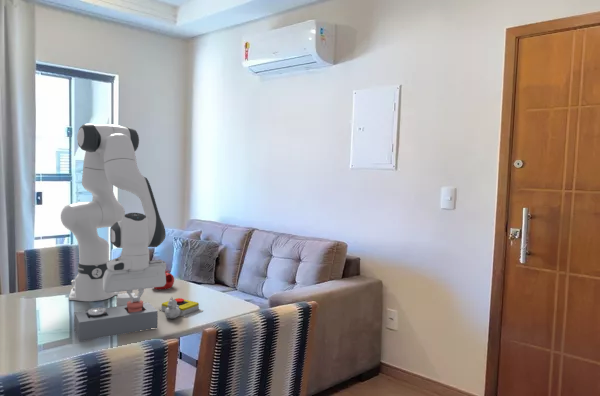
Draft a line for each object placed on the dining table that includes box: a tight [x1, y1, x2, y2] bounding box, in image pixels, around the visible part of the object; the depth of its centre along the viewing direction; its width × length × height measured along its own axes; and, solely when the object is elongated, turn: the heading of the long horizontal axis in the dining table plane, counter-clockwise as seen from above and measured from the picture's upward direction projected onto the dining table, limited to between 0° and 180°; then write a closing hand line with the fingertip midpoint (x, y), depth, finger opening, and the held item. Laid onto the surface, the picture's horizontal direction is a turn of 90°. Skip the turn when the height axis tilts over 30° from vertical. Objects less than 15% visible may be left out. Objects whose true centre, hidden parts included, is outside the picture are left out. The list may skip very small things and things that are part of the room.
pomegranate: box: [154, 270, 175, 291], centre depth 208 cm, size 10×10×9 cm
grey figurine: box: [164, 297, 180, 319], centre depth 170 cm, size 5×7×8 cm
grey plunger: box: [88, 307, 106, 318], centre depth 153 cm, size 5×5×5 cm
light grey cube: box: [116, 292, 136, 307], centre depth 175 cm, size 6×6×6 cm
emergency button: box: [160, 297, 204, 318], centre depth 178 cm, size 9×4×15 cm
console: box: [73, 302, 159, 342], centre depth 157 cm, size 11×24×6 cm, turn 123°
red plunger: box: [127, 299, 144, 313], centre depth 160 cm, size 5×5×5 cm
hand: (135, 302), depth 159 cm, fingers closed, pressing on red plunger
